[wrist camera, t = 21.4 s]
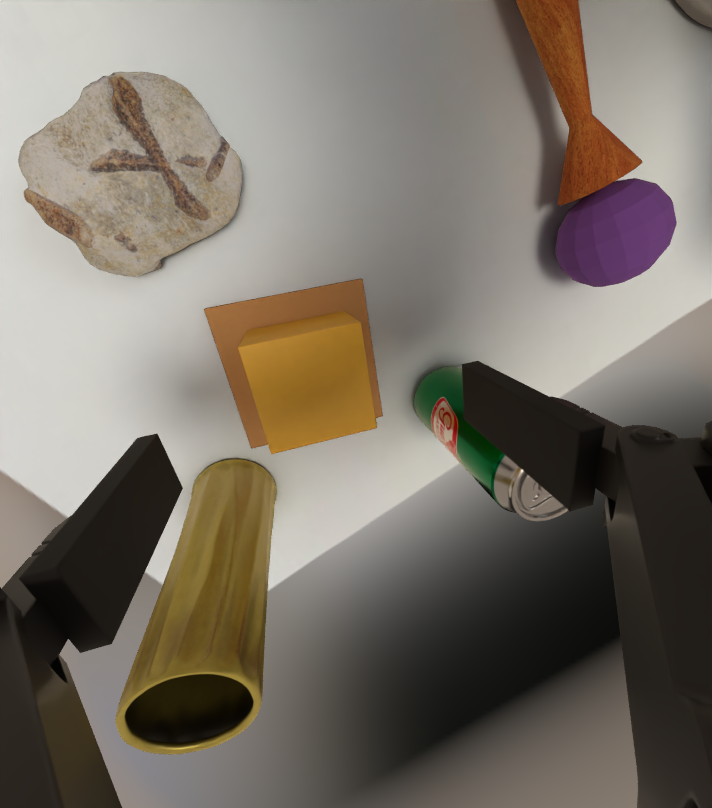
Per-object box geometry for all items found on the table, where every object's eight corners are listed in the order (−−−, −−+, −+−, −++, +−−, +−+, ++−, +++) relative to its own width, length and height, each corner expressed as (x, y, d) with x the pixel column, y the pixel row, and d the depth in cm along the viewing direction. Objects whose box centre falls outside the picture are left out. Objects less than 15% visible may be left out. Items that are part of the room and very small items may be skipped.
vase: (178, 507, 25) (72, 756, 13) (217, 444, 24) (144, 647, 11) (252, 533, 28) (227, 767, 15) (291, 477, 27) (301, 678, 14)
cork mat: (361, 278, 22) (362, 278, 22) (381, 414, 26) (382, 416, 26) (205, 308, 21) (203, 309, 20) (251, 446, 25) (251, 448, 24)
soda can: (403, 380, 25) (495, 466, 15) (463, 353, 26) (598, 417, 15) (421, 434, 28) (514, 543, 17) (477, 408, 28) (605, 500, 17)
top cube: (344, 310, 22) (360, 321, 18) (359, 398, 25) (377, 428, 20) (246, 330, 21) (237, 347, 17) (272, 419, 24) (271, 454, 19)
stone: (166, 51, 16) (145, 13, 14) (265, 199, 19) (263, 189, 17) (15, 173, 17) (-29, 157, 14) (135, 299, 20) (115, 303, 17)
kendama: (631, -244, 13) (708, 245, 20) (515, -74, 19) (607, 263, 26) (519, -193, 12) (641, 299, 19) (432, -30, 18) (551, 306, 25)
